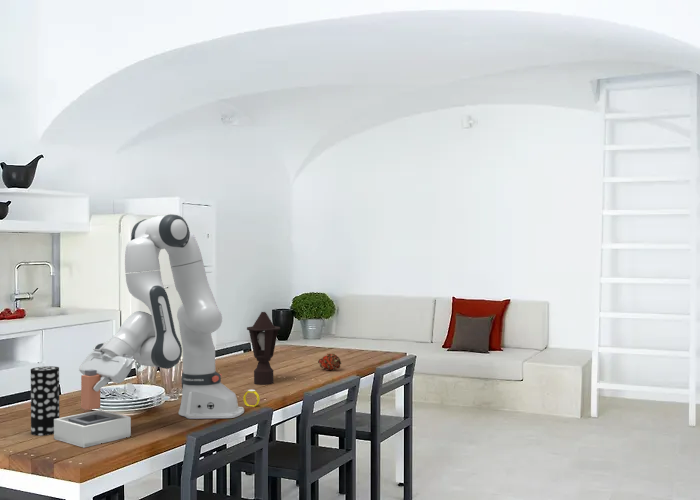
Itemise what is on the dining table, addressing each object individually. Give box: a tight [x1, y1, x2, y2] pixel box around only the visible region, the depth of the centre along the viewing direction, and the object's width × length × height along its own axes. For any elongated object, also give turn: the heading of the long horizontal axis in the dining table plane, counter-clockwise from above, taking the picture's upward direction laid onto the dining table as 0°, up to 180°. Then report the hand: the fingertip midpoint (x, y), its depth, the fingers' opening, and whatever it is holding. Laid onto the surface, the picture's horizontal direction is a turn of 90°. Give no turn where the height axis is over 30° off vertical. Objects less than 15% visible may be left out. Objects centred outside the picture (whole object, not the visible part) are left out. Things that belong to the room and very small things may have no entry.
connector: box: [80, 369, 101, 411], centre depth 231 cm, size 4×4×12 cm
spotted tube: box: [30, 365, 60, 436], centre depth 237 cm, size 8×8×20 cm
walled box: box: [53, 409, 132, 449], centre depth 231 cm, size 16×16×6 cm
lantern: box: [246, 311, 281, 386], centre depth 319 cm, size 15×15×30 cm
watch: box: [242, 389, 261, 408], centre depth 274 cm, size 6×3×6 cm, turn 70°
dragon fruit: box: [317, 352, 342, 372], centre depth 351 cm, size 8×8×12 cm
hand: (89, 389), depth 230 cm, fingers closed on connector, 4 cm apart
